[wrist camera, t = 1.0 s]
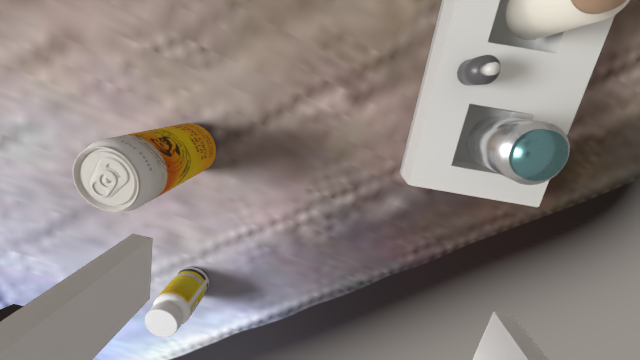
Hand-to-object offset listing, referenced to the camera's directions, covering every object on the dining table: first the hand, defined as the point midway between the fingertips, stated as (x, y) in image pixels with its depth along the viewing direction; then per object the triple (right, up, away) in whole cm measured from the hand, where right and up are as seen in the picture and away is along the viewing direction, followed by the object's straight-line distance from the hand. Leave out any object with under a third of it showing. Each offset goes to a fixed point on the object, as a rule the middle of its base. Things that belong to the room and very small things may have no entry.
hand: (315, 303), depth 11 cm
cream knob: (+19, +20, +15) cm, 32 cm away
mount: (+19, +16, +22) cm, 33 cm away
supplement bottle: (-18, -10, +32) cm, 38 cm away
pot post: (+15, +15, +17) cm, 27 cm away
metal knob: (+17, +9, +19) cm, 27 cm away
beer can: (-16, +9, +26) cm, 32 cm away
